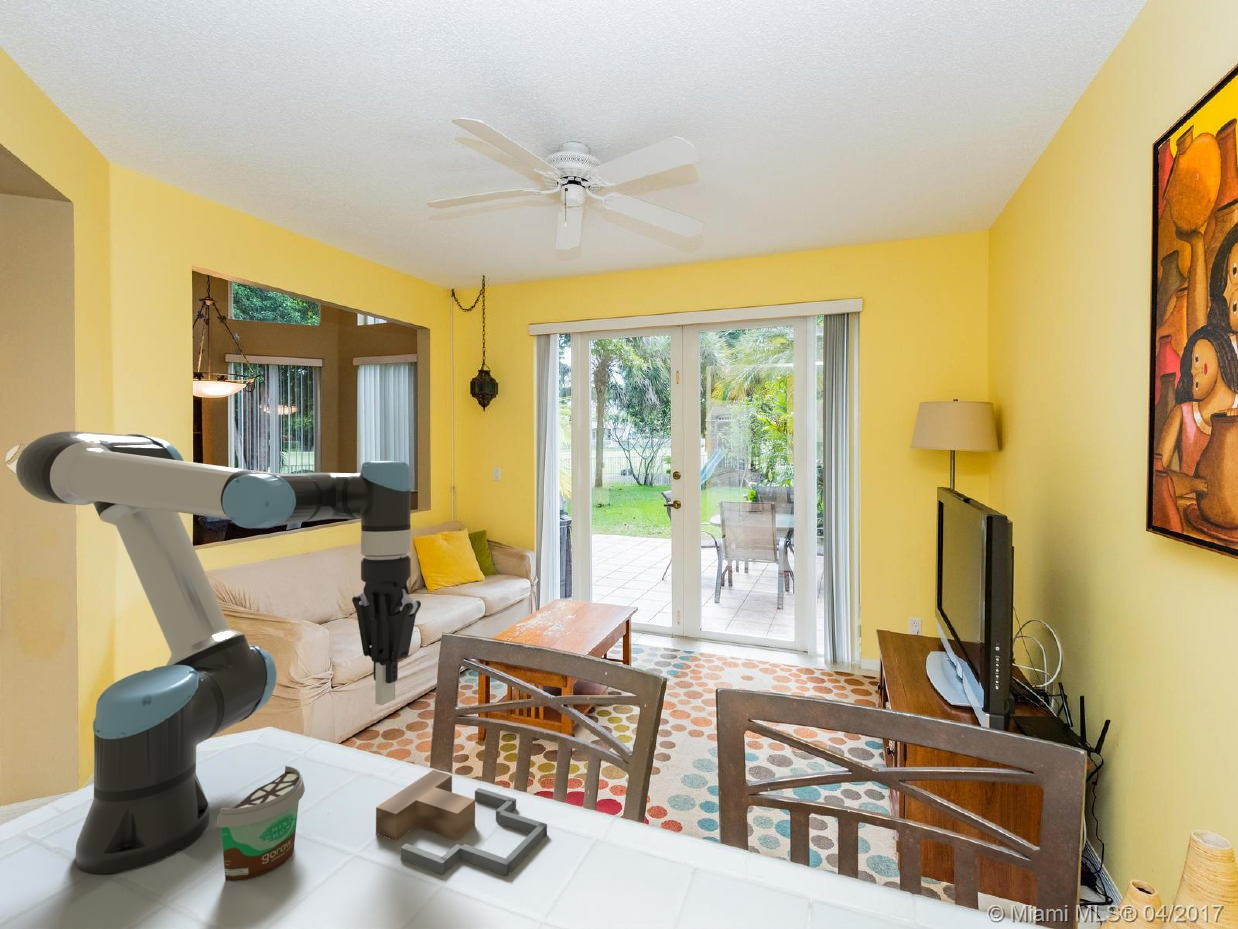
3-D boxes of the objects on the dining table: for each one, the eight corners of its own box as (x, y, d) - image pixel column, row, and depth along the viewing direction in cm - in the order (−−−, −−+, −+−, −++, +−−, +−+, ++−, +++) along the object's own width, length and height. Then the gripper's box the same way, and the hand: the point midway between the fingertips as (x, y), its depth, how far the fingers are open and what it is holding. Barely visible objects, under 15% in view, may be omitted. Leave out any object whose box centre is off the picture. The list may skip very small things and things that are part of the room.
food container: (256, 896, 74) (257, 817, 74) (215, 888, 75) (216, 811, 76) (323, 836, 86) (324, 768, 86) (287, 831, 88) (288, 764, 88)
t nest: (400, 858, 82) (400, 847, 82) (478, 797, 97) (478, 787, 97) (490, 893, 75) (490, 881, 75) (559, 821, 90) (559, 811, 90)
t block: (375, 834, 87) (376, 807, 87) (433, 793, 98) (433, 769, 98) (438, 857, 82) (438, 829, 82) (491, 812, 93) (491, 787, 93)
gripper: (433, 555, 96) (432, 700, 95) (375, 550, 101) (374, 687, 101) (398, 561, 89) (397, 717, 89) (338, 556, 94) (337, 703, 94)
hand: (385, 701), depth 95 cm, fingers closed
